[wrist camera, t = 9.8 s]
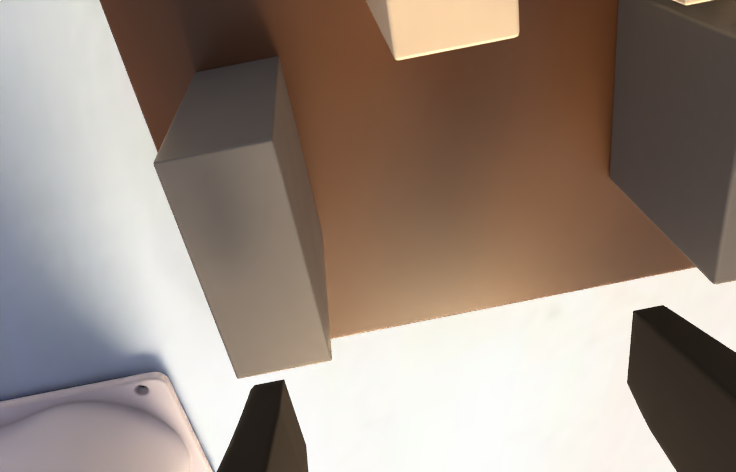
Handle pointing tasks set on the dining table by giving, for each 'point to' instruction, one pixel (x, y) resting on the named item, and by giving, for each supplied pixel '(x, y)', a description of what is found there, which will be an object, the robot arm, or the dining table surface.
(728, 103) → the grey block pair
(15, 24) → the dining table surface
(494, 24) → the tan wooden block
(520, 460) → the dining table surface
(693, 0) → the cream block
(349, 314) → the shelf board
